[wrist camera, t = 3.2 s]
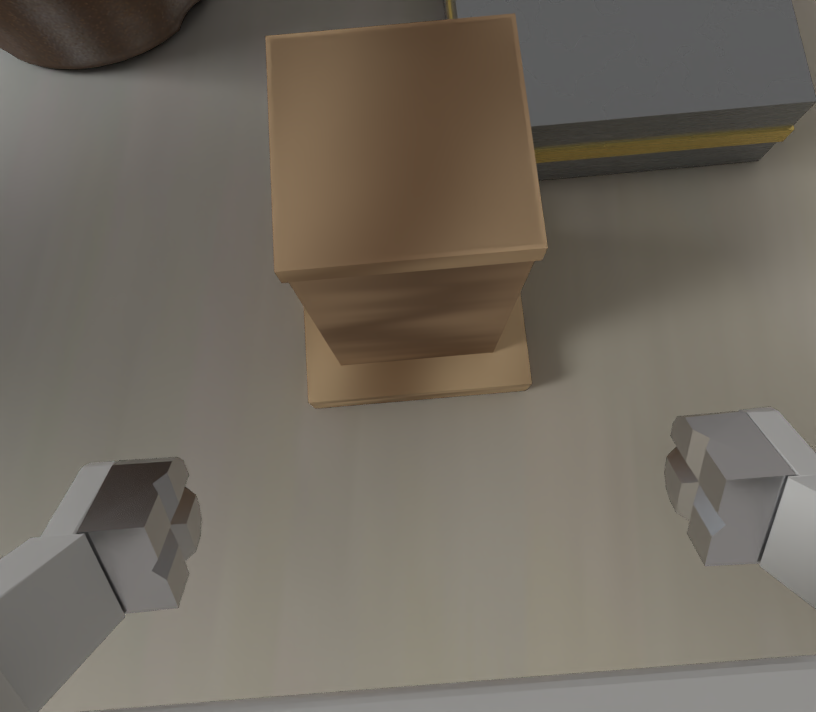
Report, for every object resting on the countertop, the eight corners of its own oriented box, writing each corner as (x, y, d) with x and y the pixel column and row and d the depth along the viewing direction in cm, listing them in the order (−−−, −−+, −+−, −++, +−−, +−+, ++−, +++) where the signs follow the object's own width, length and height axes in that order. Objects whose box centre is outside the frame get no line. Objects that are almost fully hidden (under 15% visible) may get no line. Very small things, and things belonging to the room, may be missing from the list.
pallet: (315, 408, 24) (308, 402, 23) (305, 214, 26) (298, 197, 25) (525, 390, 24) (531, 383, 23) (501, 196, 26) (506, 178, 24)
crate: (338, 368, 23) (274, 271, 13) (329, 222, 24) (265, 35, 15) (496, 354, 23) (547, 247, 13) (479, 209, 24) (515, 13, 14)
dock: (461, 189, 26) (468, 134, 22) (434, -59, 29) (436, -146, 25) (761, 162, 26) (820, 103, 22) (705, -83, 29) (749, -175, 25)
